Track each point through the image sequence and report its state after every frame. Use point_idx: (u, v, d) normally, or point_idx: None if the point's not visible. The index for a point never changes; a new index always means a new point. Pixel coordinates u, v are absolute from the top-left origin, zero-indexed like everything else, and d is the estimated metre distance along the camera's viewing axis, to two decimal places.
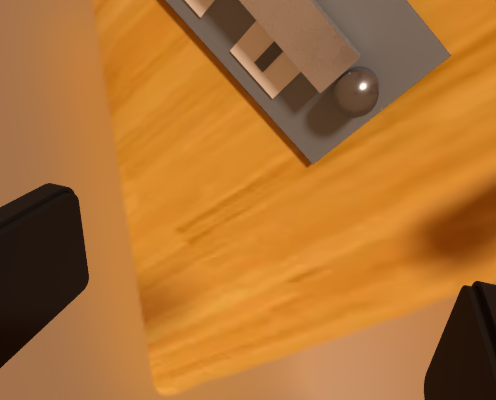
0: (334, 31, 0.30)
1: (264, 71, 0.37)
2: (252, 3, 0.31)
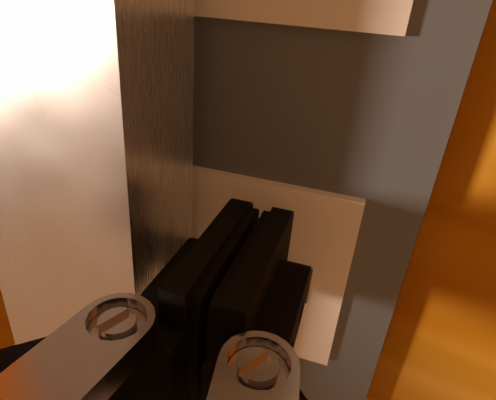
0: None
1: None
2: (85, 42, 0.07)
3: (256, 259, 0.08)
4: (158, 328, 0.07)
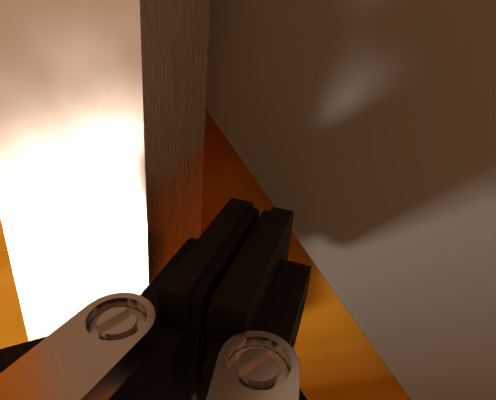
0: None
1: None
2: (112, 82, 0.07)
3: (256, 259, 0.08)
4: (158, 328, 0.07)
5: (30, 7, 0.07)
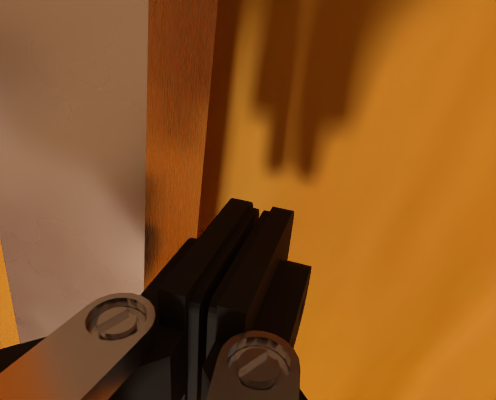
0: None
1: None
2: (116, 62, 0.07)
3: (256, 259, 0.08)
4: (158, 328, 0.07)
5: None
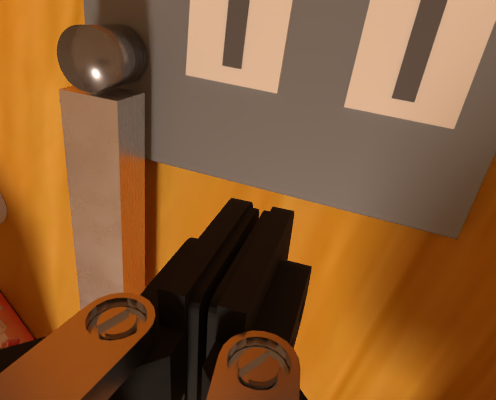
0: (64, 134, 0.25)
1: None
2: (113, 229, 0.27)
3: (256, 259, 0.08)
4: (158, 328, 0.07)
5: (92, 209, 0.27)
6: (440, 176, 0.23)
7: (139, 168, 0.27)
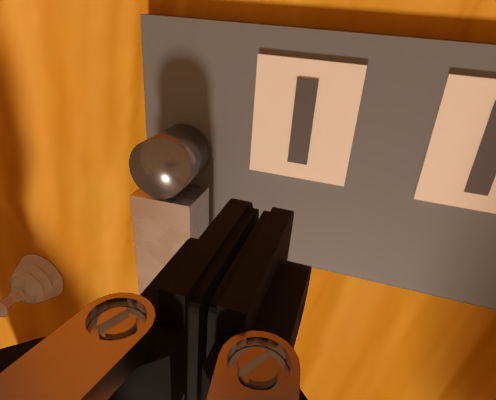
0: (135, 234, 0.26)
1: (295, 80, 0.22)
2: None
3: (256, 259, 0.08)
4: (158, 328, 0.07)
5: None
6: None
7: None
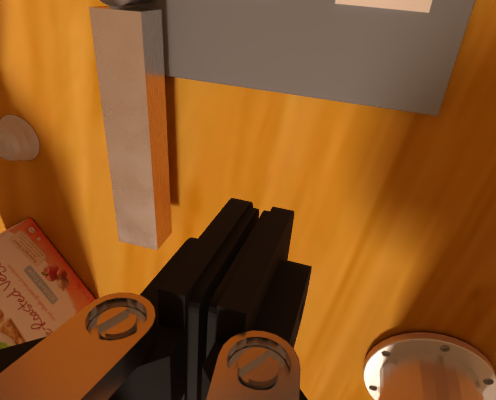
0: (95, 50, 0.29)
1: None
2: (142, 135, 0.31)
3: (256, 259, 0.08)
4: (158, 328, 0.07)
5: (123, 118, 0.31)
6: (420, 58, 0.27)
7: (160, 80, 0.31)
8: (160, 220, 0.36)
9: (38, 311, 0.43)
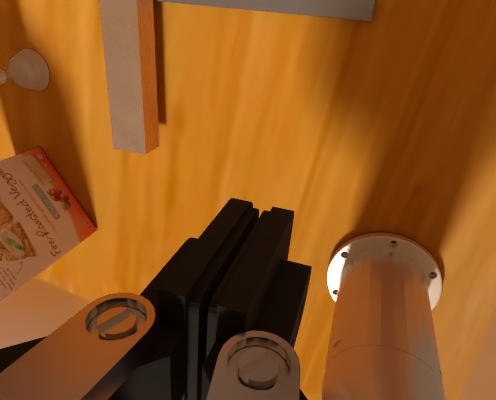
0: None
1: None
2: (133, 44, 0.38)
3: (256, 259, 0.08)
4: (158, 328, 0.07)
5: (118, 31, 0.38)
6: None
7: (149, 1, 0.38)
8: (148, 128, 0.42)
9: (42, 222, 0.49)
